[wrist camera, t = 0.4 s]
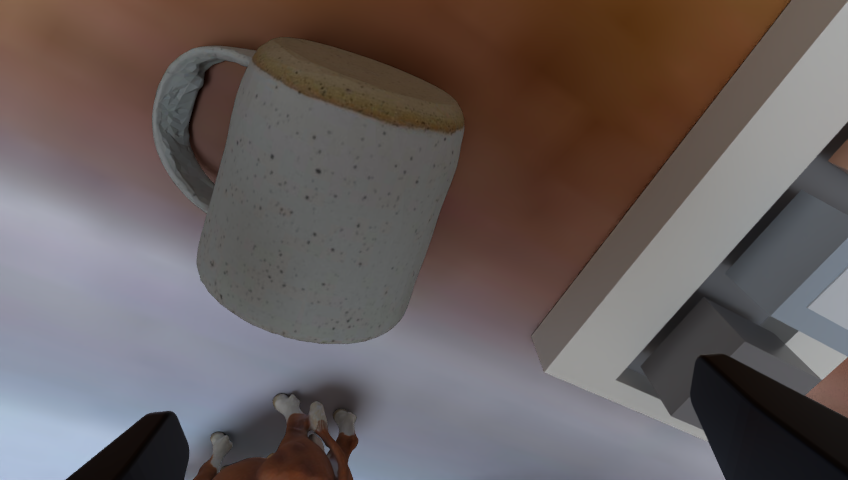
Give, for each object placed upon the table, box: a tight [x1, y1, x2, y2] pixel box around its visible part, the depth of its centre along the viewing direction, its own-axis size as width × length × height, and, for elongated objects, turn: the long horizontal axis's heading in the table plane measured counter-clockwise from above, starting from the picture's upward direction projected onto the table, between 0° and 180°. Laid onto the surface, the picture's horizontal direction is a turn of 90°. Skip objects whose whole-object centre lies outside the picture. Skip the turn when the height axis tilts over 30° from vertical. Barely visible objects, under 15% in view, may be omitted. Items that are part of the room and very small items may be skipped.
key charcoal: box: [640, 297, 821, 430], centre depth 22 cm, size 4×4×3 cm
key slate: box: [725, 190, 848, 357], centre depth 20 cm, size 4×4×3 cm
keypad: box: [531, 0, 848, 442], centre depth 22 cm, size 25×12×3 cm, turn 151°
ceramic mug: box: [152, 37, 464, 344], centre depth 18 cm, size 11×8×8 cm
